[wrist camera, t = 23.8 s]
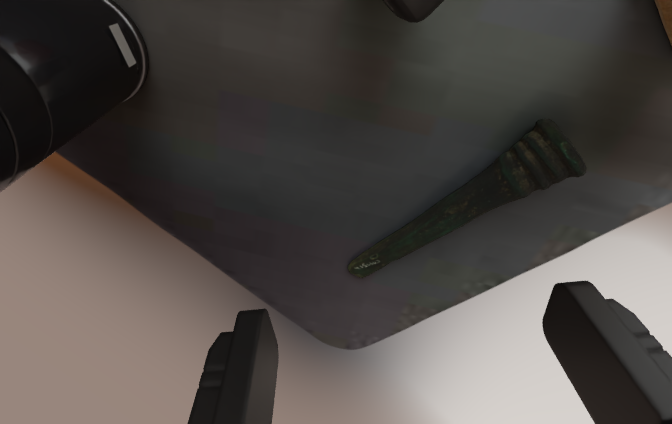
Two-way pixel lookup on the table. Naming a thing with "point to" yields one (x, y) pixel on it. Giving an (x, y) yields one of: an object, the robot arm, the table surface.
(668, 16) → the stone cup
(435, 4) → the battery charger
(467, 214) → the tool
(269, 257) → the table surface
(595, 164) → the table surface
